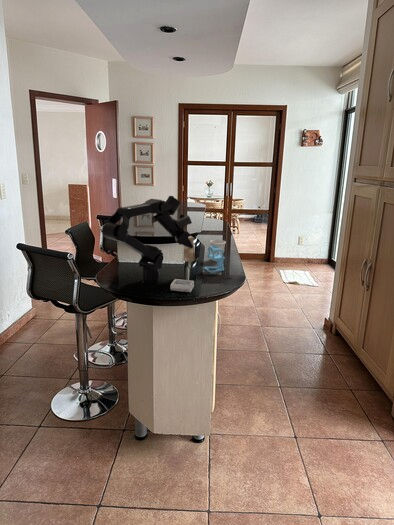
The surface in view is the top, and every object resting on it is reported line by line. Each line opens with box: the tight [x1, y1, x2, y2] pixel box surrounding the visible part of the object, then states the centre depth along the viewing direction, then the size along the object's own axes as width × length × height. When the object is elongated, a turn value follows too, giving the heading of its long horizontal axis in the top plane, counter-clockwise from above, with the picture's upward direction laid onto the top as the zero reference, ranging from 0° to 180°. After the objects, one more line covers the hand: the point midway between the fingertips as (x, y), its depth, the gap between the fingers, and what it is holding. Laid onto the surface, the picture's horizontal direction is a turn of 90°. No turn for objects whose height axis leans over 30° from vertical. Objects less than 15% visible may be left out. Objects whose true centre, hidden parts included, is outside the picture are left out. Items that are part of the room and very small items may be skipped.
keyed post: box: [182, 235, 196, 263], centre depth 165 cm, size 5×4×11 cm
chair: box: [204, 245, 226, 274], centre depth 175 cm, size 8×8×12 cm
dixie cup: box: [209, 239, 227, 262], centre depth 193 cm, size 8×8×10 cm
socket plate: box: [170, 278, 195, 293], centre depth 152 cm, size 8×7×2 cm
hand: (191, 246), depth 165 cm, fingers closed on keyed post, 3 cm apart
